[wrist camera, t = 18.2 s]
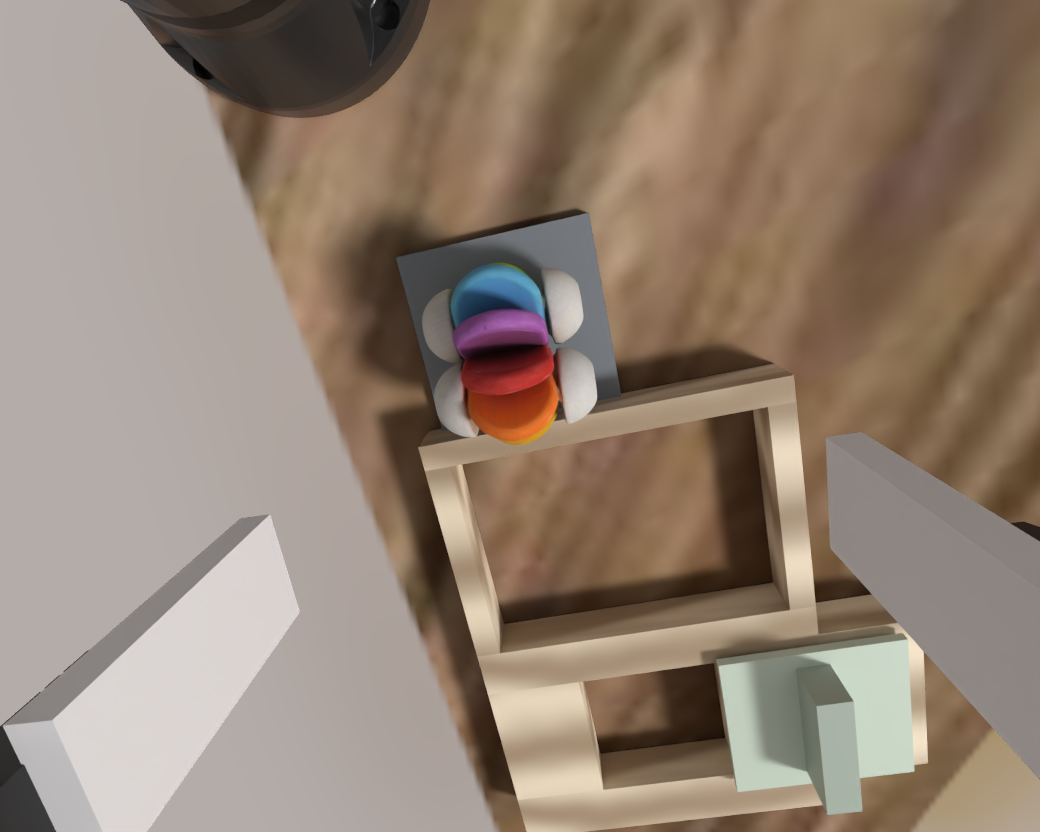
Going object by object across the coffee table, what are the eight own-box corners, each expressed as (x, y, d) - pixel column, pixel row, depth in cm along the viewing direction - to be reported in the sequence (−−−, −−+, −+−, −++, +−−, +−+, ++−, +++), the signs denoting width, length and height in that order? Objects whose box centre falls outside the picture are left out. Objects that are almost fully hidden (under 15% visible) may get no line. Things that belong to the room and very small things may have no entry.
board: (428, 431, 37) (418, 447, 35) (881, 342, 34) (911, 352, 32) (530, 799, 46) (528, 837, 43) (903, 755, 43) (929, 792, 40)
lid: (716, 659, 37) (732, 702, 34) (902, 632, 36) (939, 675, 33) (735, 784, 40) (751, 836, 37) (909, 763, 39) (943, 815, 35)
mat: (398, 257, 35) (395, 257, 34) (588, 213, 33) (588, 212, 33) (446, 435, 38) (444, 438, 37) (621, 401, 36) (623, 404, 36)
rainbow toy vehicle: (455, 455, 34) (418, 462, 27) (429, 288, 35) (385, 252, 28) (603, 431, 33) (606, 432, 26) (574, 260, 34) (569, 215, 27)
